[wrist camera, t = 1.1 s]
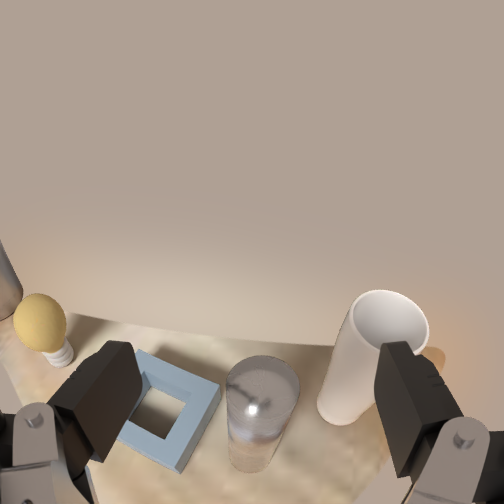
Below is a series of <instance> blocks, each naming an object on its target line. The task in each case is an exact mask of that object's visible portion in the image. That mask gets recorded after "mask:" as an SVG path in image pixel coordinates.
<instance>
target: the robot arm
mask: <svg viewBox="0 0 504 504" xmlns="http://www.w3.org/2000/svg"><path fill="white" fill-rule="evenodd" d="M22 297H23V288H22V285H21V283H20V281H19V279H18V277H17V276H16V273H15V271H14V269H13V267H12V265H11V263H10V261H9V259H8V256H7V254H6V252H5V250H4V247H3V245H2V243H1V241H0V320H3V319H5V318H6V317H8V316H9V315H11V314H12V313H13V312H14V311H15V310H16V308H17V306H18V305H19V304H20V302H21V300H22ZM444 383H445V382H444V381H443V379H442V377H441V376H439V372H438V371H437V369H436V367H435V366H434V364H433V363H432V362H431V361H430V360H428V359H427V358H425V357H424V356H423V355H421V354H420V355H414V353H413V351H412V349H411V348H410V346H409V344H408V343H407V342H406V341H397V342H387V343H383V344H382V345H381V348H380V353H379V359H378V365H377V370H376V375H375V380H374V397H375V401H376V405H377V408H378V411H379V414H380V418H381V421H382V424H383V428H384V431H385V435H386V438H387V442H388V445H389V449H390V452H391V456H392V460H393V463H394V467H395V471H396V474H397V478H401V477H406V476H410V477H411V481H412V485H411V486H410V488H409V490H408V492H407V493H406V495H405V497H404V499H403V500H402V502H401V504H471V503H473V502H475V503H476V504H504V431H495V432H494V431H492V432H491V431H488V430H487V428H486V427H485V425H483V424H482V423H481V422H480V421H478V420H476V419H474V418H470V417H464V415H463V414H462V412H461V410H460V408H459V406H458V405H457V403H456V401H455V399H454V398H453V396H452V394H451V392H450V391H449V389H448V387H447V386H446V385H445V384H444ZM142 387H143V382H142V377H141V373H140V370H139V367H138V363H137V360H136V356H135V353H134V349H133V347H132V345H131V343H129V342H122V341H112V340H109V341H107V342H106V343H105V344H104V345H103V346H102V348H101V349H100V350H99V351H98V352H97V353H94V354H93V355H91V356H90V357H88V358H86V359H85V360H83V362H82V363H81V364H80V365H79V366H78V367H77V368H76V371H74V372H73V373H72V374H71V375H70V378H68V379H67V380H66V381H65V382H64V383H63V384H62V386H61V387H60V388H59V389H58V390H57V391H56V393H55V394H54V395H53V396H52V397H51V399H50V400H49V401H48V402H47V403H46V404H45V403H40V402H37V403H32V404H29V405H26V406H24V407H23V408H22V409H21V410H19V412H18V413H17V414H3V413H2V412H1V410H0V504H99V502H98V499H97V495H96V492H95V489H94V485H93V482H92V478H91V474H90V471H89V468H88V466H87V465H86V464H87V463H88V461H89V459H91V460H94V461H98V462H101V463H103V462H104V461H105V459H106V457H107V455H108V453H109V451H110V450H111V448H112V446H113V444H114V442H115V440H116V439H117V437H118V435H119V433H120V431H121V430H122V428H123V426H124V424H125V422H126V421H127V419H128V417H129V415H130V413H131V412H132V410H133V408H134V406H135V404H136V403H137V401H138V399H139V397H140V395H141V393H142Z"/></svg>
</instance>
